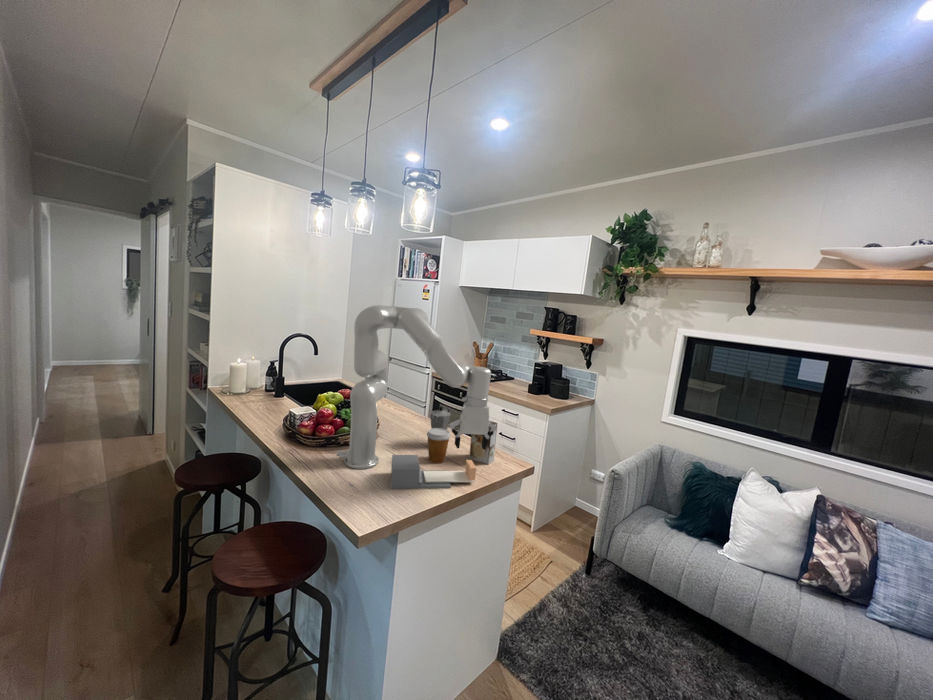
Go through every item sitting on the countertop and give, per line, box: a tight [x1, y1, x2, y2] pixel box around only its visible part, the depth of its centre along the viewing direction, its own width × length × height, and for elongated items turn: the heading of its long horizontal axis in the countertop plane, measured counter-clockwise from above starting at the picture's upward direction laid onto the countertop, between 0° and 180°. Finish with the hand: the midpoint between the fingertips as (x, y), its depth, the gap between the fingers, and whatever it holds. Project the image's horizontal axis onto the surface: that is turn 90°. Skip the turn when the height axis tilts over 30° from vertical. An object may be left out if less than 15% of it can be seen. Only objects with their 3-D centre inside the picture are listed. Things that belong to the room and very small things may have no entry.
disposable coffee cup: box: [426, 428, 452, 464], centre depth 149 cm, size 10×10×12 cm
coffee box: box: [468, 420, 498, 465], centre depth 154 cm, size 9×6×16 cm
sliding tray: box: [424, 459, 477, 483], centre depth 133 cm, size 18×8×5 cm, turn 102°
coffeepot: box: [429, 406, 451, 448], centre depth 165 cm, size 15×9×18 cm, turn 158°
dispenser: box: [390, 454, 452, 490], centre depth 131 cm, size 20×12×7 cm, turn 102°
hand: (470, 447), depth 134 cm, fingers open, 9 cm apart
